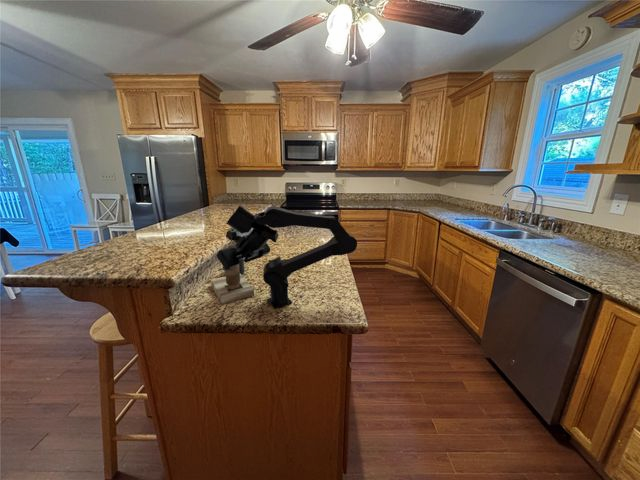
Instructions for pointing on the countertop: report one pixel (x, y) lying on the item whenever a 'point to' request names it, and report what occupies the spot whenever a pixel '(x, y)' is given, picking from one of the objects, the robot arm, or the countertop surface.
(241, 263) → the supplement bottle
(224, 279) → the board
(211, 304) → the countertop surface
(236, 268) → the walnut peg
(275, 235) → the robot arm
